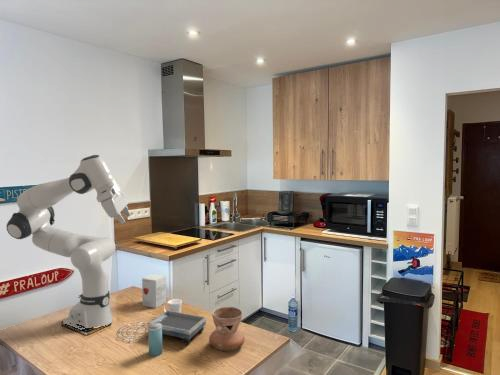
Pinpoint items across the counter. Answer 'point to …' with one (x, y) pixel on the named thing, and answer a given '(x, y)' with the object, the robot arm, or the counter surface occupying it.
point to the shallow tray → (180, 324)
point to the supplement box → (154, 290)
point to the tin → (155, 339)
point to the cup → (174, 305)
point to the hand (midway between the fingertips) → (126, 219)
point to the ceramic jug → (226, 329)
